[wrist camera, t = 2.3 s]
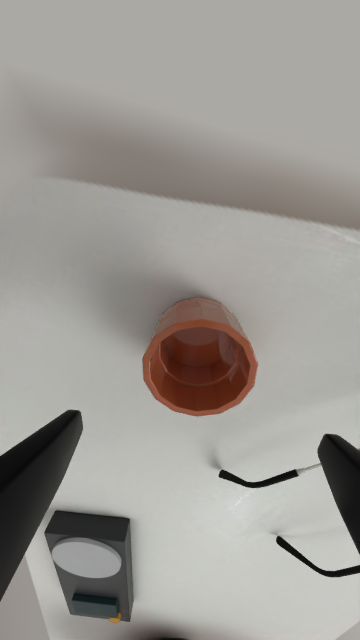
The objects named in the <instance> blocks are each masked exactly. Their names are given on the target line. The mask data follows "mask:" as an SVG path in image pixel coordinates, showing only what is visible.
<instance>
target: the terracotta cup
mask: <svg viewBox="0 0 360 640" xmlns="http://www.w3.org/2000/svg"><path fill="white" fill-rule="evenodd" d="M257 367H258V362H257V360H256V357H255V354H254V352H253V349H252V347H251V344H250V342H249V340H248V338H247V336H246V335H245V333H244V331H243V329H242V328H241V326H240V324H239V322H238V321H237V319H236V317H235V316H234V314H233V313H231V312H230V311H229V310H228V309H227V308H226V307H224V306H223V305H222V304H221V303H219V302H216V301H212V300H208V299H204V298H193V299H188V300H183V301H179V302H177V303H176V304H174V305H173V306H172V307H170V308H169V309H168V310H166V311H165V312H164V313H163V314H162V316H161V318H160V320H159V322H158V324H157V326H156V328H155V330H154V333H153V335H152V337H151V340H150V342H149V344H148V347H147V349H146V352H145V354H144V356H143V377H144V381H145V383H146V385H147V386H148V388H149V390H150V391H151V393H152V394H153V396H154V398H155V399H156V400H158V401H159V402H161V403H162V404H164V405H165V406H167V407H168V408H170V409H171V410H173V411H175V412H179V413H183V414H188V415H192V416H205V415H214V414H219V413H222V412H224V411H226V410H228V409H230V408H232V407H234V406H236V405H238V404H239V403H241V401H242V400H243V399H244V398H245V396H246V395H247V394H248V393H249V392H250V390H251V389H252V388H253V387H254V383H255V378H256V372H257Z"/></svg>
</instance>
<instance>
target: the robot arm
mask: <svg viewBox="0 0 360 640" xmlns="http://www.w3.org/2000/svg"><path fill="white" fill-rule="evenodd" d="M82 431H83V423H82V416H81V412H80V411H79V410H67V411H66V412H64V413H63V414H61V415H60V416H58V417H57V418H56V419H54V420H53V421H51V422H50V423H48V424H47V425H45V426H44V427H42V428H41V429H39V430H38V431H36V432H35V433H33V434H32V435H31V436H29V437H28V438H26V439H25V440H23V441H22V442H20V443H19V444H17V445H16V446H14V447H13V448H11V449H10V450H8V451H7V452H6V453H4V454H3V455H1V456H0V601H1V599H2V597H3V595H4V593H5V591H6V589H7V587H8V585H9V583H10V581H11V579H12V577H13V576H14V574H15V572H16V570H17V568H18V566H19V564H20V562H21V560H22V558H23V556H24V554H25V552H26V550H27V548H28V546H29V544H30V543H31V541H32V539H33V537H34V535H35V533H36V531H37V529H38V527H39V525H40V523H41V521H42V519H43V517H44V515H45V513H46V511H47V509H48V507H49V506H50V504H51V502H52V500H53V498H54V496H55V494H56V492H57V490H58V488H59V486H60V484H61V482H62V480H63V478H64V475H65V473H66V471H67V468H68V466H69V463H70V461H71V458H72V456H73V454H74V451H75V449H76V446H77V444H78V441H79V439H80V436H81V434H82ZM318 457H319V460H320V462H321V465H322V468H323V470H324V473H325V476H326V478H327V481H328V484H329V486H330V489H331V492H332V494H333V497H334V499H335V502H336V504H337V507H338V509H339V511H340V514H341V516H342V518H343V520H344V522H345V524H346V527H347V529H348V531H349V533H350V535H351V537H352V539H353V541H354V544H355V546H356V548H357V550H358V552H359V554H360V451H359V450H358V449H356V448H355V447H354V446H352V445H351V444H350V443H348V442H347V441H346V440H344V439H343V438H342V437H340V436H339V435H335V434H325V435H324V436H323V438H322V440H321V442H320V445H319V447H318Z"/></svg>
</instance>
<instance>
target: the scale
mask: <svg viewBox="0 0 360 640" xmlns="http://www.w3.org/2000/svg"><path fill="white" fill-rule="evenodd" d="M44 534H45V537H46V540H47V543H48V546H49V550H50V553H51V556H52V559H53V562H54V565H55V568H56V571H57V574H58V578H59V581H60V584H61V587H62V590H63V593H64V596H65V599H66V602H67V605H68V609H69V612H70V614H71V615H79V616H87V617H95V618H103V619H109V621H110V622H113V623H118V622H120V621H127V622H130V618H131V612H132V606H133V581H132V559H131V537H130V519H123V518H114V517H105V516H96V515H87V514H78V513H69V512H60V511H55V512H54V514H53V516H52V518H51V520H50V522H49V524H48V526H47V528H46V530H45V532H44Z"/></svg>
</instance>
